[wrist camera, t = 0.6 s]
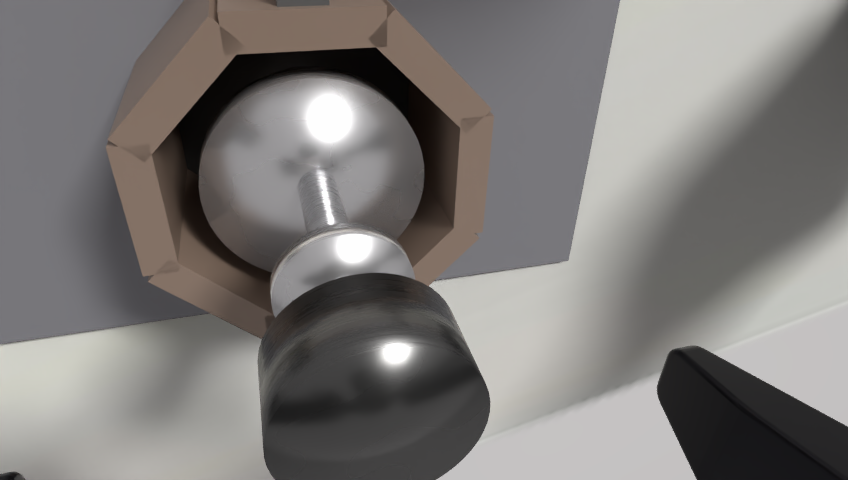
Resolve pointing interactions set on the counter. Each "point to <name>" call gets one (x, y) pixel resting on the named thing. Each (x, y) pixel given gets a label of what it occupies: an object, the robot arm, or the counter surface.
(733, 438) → the robot arm
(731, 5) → the counter surface
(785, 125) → the counter surface
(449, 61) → the mat
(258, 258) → the silver stemmed round piece
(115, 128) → the brown octagonal ring
